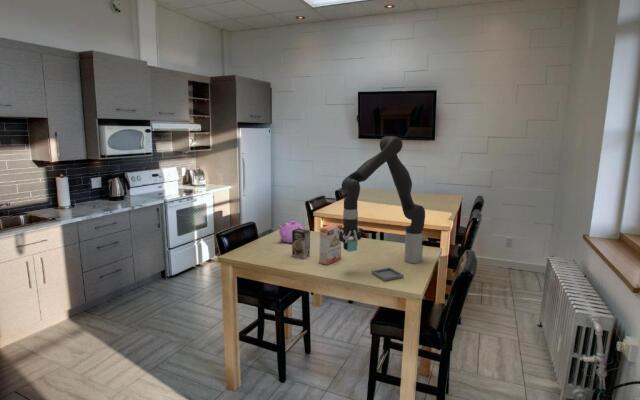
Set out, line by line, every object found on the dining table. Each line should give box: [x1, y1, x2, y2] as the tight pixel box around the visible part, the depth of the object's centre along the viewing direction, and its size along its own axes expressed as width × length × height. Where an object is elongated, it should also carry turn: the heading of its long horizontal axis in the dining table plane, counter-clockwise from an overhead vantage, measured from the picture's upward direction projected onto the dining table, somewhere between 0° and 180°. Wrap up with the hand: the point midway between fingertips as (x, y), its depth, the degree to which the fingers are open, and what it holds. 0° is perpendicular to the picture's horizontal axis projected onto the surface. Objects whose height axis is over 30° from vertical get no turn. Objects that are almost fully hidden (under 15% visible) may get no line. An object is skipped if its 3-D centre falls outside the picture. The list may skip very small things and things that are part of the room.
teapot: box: [277, 220, 305, 244], centre depth 261 cm, size 22×22×14 cm
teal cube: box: [345, 238, 358, 252], centre depth 203 cm, size 5×5×5 cm
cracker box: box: [318, 223, 343, 266], centre depth 221 cm, size 14×6×21 cm, turn 142°
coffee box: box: [291, 228, 311, 260], centre depth 230 cm, size 9×6×16 cm
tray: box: [371, 267, 404, 283], centre depth 201 cm, size 12×12×2 cm
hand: (350, 248), depth 204 cm, fingers closed on teal cube, 5 cm apart
